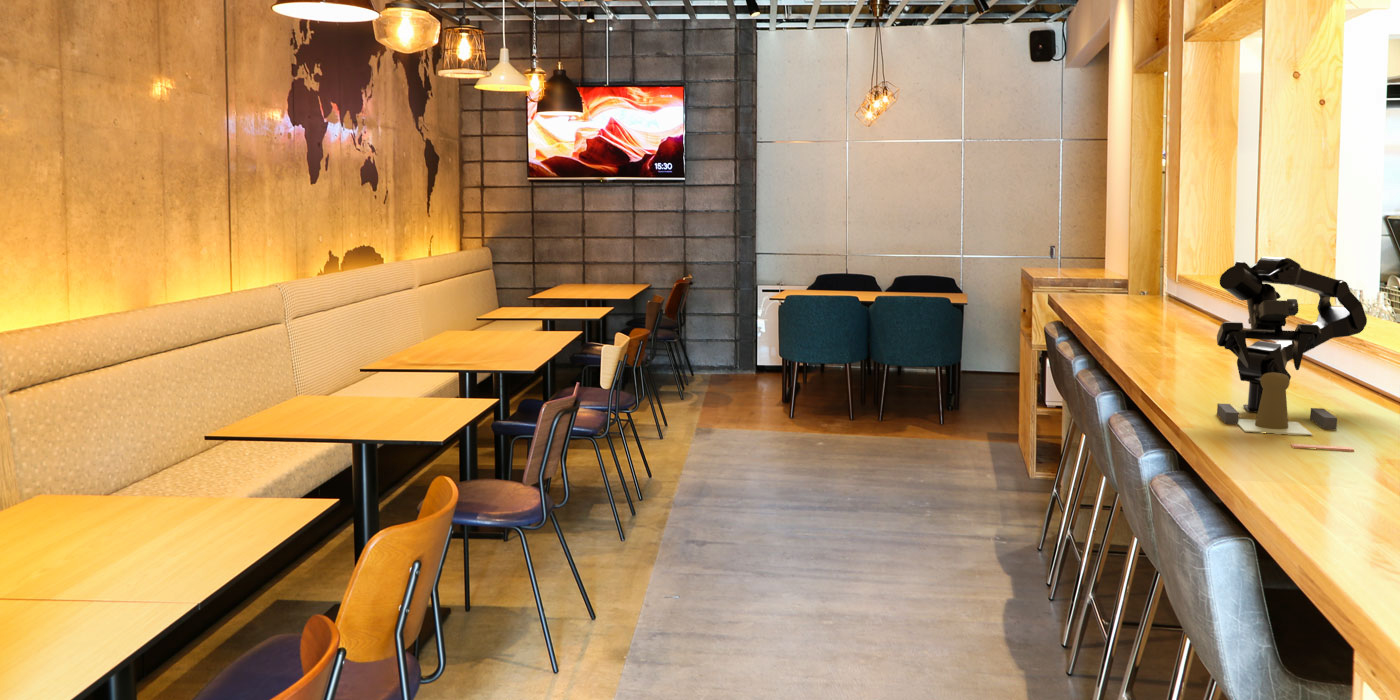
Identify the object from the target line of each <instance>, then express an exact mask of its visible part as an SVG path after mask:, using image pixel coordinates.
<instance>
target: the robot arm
mask: <svg viewBox="0 0 1400 700" xmlns="http://www.w3.org/2000/svg"><path fill="white" fill-rule="evenodd" d="M1301 266H1302V265H1301V264H1300V263H1298V262H1297V261H1295V260H1293V259H1292V258H1290V257H1274V256H1262V257H1260V259H1258V261H1257V262H1256V263H1254V264H1253V265H1251V266H1249V264H1248V263H1246V262H1245V261H1235V264H1234V265H1233V266H1231V267H1229V268H1228V269H1226V270H1225V271H1224V272H1223V273H1222V274H1221V275H1220V277H1219V285H1220V288H1222V289H1224V290H1225V291H1226V292H1227V293H1229V294H1231V295H1232V296H1233V297H1235V298H1236V299H1238V300H1240V301H1246V304H1247V309H1248V311H1247V312H1248V325H1249V324H1250V327H1249V328H1246V327H1244V323H1243V322H1241V321H1223V322H1222V323H1221V324H1220V327H1219V329H1218V332H1217V335H1216V343H1217V346H1218V347H1222V348H1223V347H1224V350H1229V351H1230V352H1232V353H1233V354H1234V355H1235V356H1236V358H1237V360H1236V365H1237V370H1238V375H1239V379H1240V381H1241V382H1248V384H1249V385H1248V386H1249V387H1248V397H1247V398H1248V399H1247V404H1242V405H1243V406H1242V407H1243V408H1244V409H1245V410H1246V411H1248V412H1250V413H1258V409H1259V404H1260V400H1261V396H1262V391H1263V387H1262V386H1261V377H1262V376H1263V374H1265V373H1271V372H1275V373H1282V374H1285V375H1287V376H1288V377H1289V380H1290V381H1291V378H1292V376H1291V374H1290V373H1289V372H1288V370H1287V369H1286V367H1287V365H1288V363H1289V362H1290V361H1292V360H1293V361H1292V362H1293V365H1294V369H1295V370H1296V371H1299V369H1300V367H1301V363H1302V360H1303V359H1302V358H1303V355H1304V354H1306V353H1307V352H1309V351H1311V350H1313V349H1315V348H1317V347H1318V346H1321V345H1323V344H1324V343H1326V342H1328V341H1330V340H1332V339H1337V338H1345V337H1350V336H1355V335H1357V334H1360V333H1361V332H1363V331H1364V329H1365V327H1366V326H1367V322H1368V319H1367V318H1368V317H1367V315H1366V312H1365V310H1364V307H1363V306H1364V305H1363V304H1362V302H1361V301H1360V300H1359V299H1358V298H1357V297H1356V296H1355V295H1354V294H1353V293H1352V291H1351V289H1350V286H1349V284H1348V282H1347V281H1344V280H1343V279H1336V278H1333V277H1330V276H1326V275H1323V274H1320V273H1317V272H1313V271H1310V270H1306V269H1304V268H1303V267H1301ZM1271 284H1274V285H1275V284H1276V285H1287V286H1292V287H1295V288H1298V289H1302V290H1304V291H1308V292H1312V293H1314V294H1318V297H1319V300H1318V305H1317V312H1318V315H1317V319H1316V321H1315V322H1314V323H1310V324H1309V323H1297V324H1296V327H1295V329H1294V330H1285V329H1284V330H1283V327H1285V326H1286V325H1287V320H1286V318H1288V317H1290V316H1294V317H1295V316H1296V315H1297V314H1298V313H1299V304H1298V303H1299V302H1298V299H1297V298H1287V299H1286V300H1282V299H1281V298H1282V297H1281V294H1280V293H1279V292H1278V291H1276V289H1275V287H1274V286H1273V285H1271ZM1332 298H1336V299H1337V300H1338V302H1339V303H1340V304H1341V305H1342V306H1339V305H1338V306H1336V305H1332V303H1331V299H1332ZM1279 299H1281V300H1279ZM1246 339H1252V340H1257V341H1255V342H1253V343H1252V344H1251V345H1249V346H1248V345H1247V342H1246V341H1247V340H1246ZM1269 341H1276V342H1269Z"/></svg>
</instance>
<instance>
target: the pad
mask: <svg viewBox="0 0 1400 700" xmlns="http://www.w3.org/2000/svg"><path fill="white" fill-rule="evenodd" d="M1255 422H1256V419H1252V418H1251V419H1249V418H1239V419H1238V422H1237V424H1238V425H1239V426H1240V427H1241V428H1242V429H1243V430H1244V431H1245V432H1244V431H1243V430H1242V429H1241V428H1240V427H1239V426H1238V425H1237V424H1236V425H1237V426H1238V427H1239V428H1240V429H1241V430H1242V431H1243V432H1244V433H1246V432H1266V433H1275V434H1274V435H1281V434H1288V435H1287V436H1299V435H1311V436H1310V437H1313V433H1312V432H1310V431H1309V430H1308V429H1307V428H1306V427H1304V426H1303V425H1302V424H1301V423H1300V422H1298V421H1289V420H1288V428H1287V429H1269V428H1262V427H1258V426H1256V425H1255Z"/></svg>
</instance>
